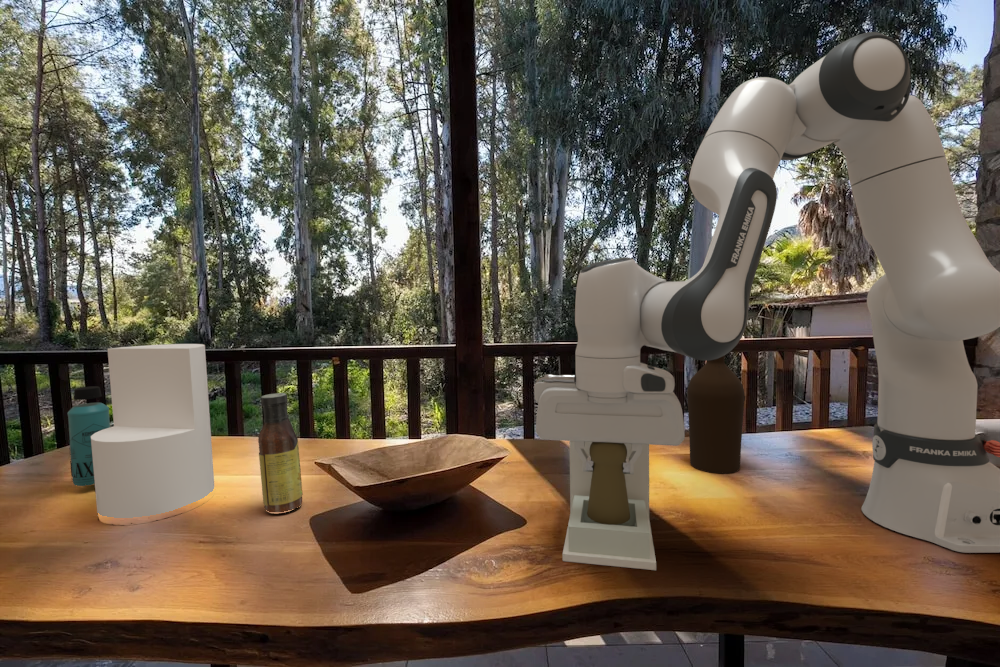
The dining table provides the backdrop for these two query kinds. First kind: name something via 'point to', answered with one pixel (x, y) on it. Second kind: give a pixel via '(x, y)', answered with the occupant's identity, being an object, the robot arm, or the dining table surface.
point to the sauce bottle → (279, 457)
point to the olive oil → (715, 418)
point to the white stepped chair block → (154, 432)
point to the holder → (602, 540)
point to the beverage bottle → (85, 433)
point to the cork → (608, 484)
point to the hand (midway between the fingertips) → (608, 471)
